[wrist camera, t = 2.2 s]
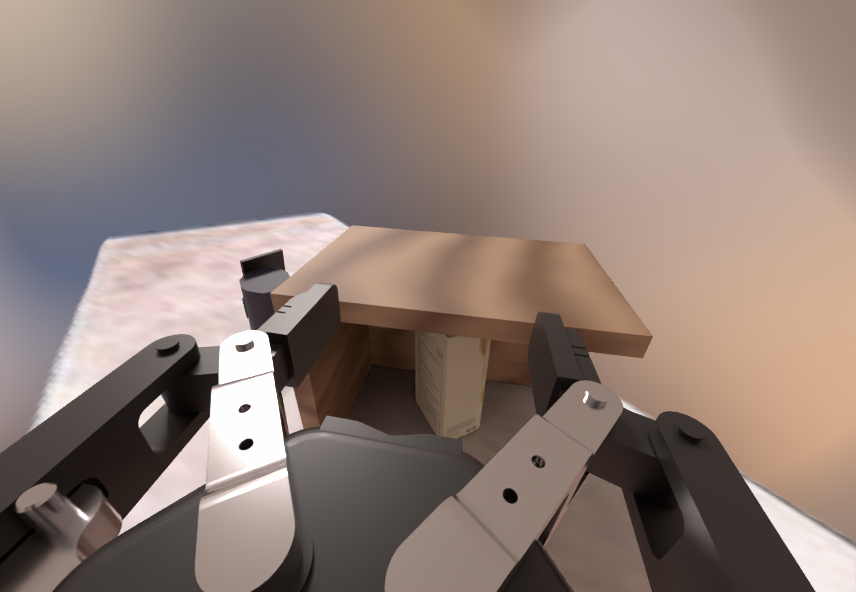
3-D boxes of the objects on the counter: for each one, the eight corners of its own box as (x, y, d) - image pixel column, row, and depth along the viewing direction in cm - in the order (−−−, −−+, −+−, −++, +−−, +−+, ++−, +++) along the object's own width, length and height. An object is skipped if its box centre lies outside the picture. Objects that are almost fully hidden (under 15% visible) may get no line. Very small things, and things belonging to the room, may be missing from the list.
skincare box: (481, 429, 31) (498, 326, 25) (441, 447, 29) (449, 340, 23) (448, 385, 36) (456, 289, 30) (413, 397, 34) (413, 299, 28)
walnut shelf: (546, 379, 37) (585, 244, 29) (573, 505, 25) (652, 336, 17) (364, 354, 40) (352, 225, 32) (310, 458, 28) (270, 293, 20)
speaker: (246, 318, 46) (231, 252, 40) (290, 309, 49) (281, 247, 43) (254, 353, 41) (238, 283, 35) (302, 341, 43) (294, 274, 38)
